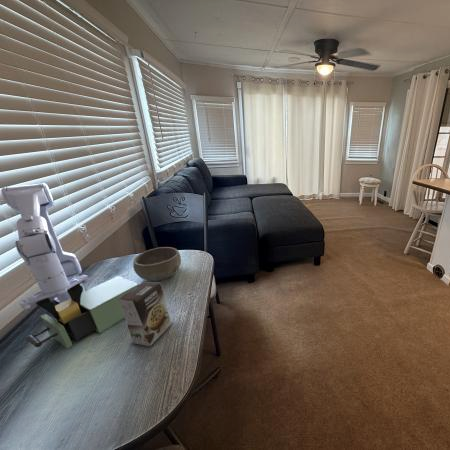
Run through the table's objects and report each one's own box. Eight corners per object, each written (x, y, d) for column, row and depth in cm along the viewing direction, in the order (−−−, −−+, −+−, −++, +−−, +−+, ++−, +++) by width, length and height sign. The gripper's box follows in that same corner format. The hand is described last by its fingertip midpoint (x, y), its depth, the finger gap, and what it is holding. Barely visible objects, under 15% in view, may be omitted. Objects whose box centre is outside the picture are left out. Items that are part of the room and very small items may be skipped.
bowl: (190, 273, 107) (185, 253, 103) (146, 292, 94) (139, 270, 91) (173, 261, 117) (169, 242, 114) (132, 276, 105) (125, 256, 101)
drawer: (46, 361, 65) (34, 341, 62) (28, 346, 70) (17, 327, 67) (118, 317, 80) (111, 300, 77) (99, 308, 85) (93, 290, 82)
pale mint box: (99, 333, 75) (90, 309, 72) (79, 320, 80) (69, 298, 77) (145, 304, 87) (138, 283, 84) (125, 295, 92) (118, 275, 89)
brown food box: (151, 346, 70) (136, 301, 64) (132, 343, 71) (116, 299, 65) (172, 324, 78) (161, 282, 72) (155, 321, 79) (143, 280, 73)
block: (57, 319, 72) (51, 307, 70) (75, 310, 75) (70, 298, 74) (64, 324, 70) (58, 312, 68) (82, 314, 74) (77, 302, 72)
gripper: (19, 292, 60) (41, 334, 64) (87, 265, 72) (102, 302, 76) (8, 285, 62) (30, 326, 67) (76, 260, 75) (90, 296, 79)
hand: (67, 313), depth 72 cm, fingers closed on block, 4 cm apart
